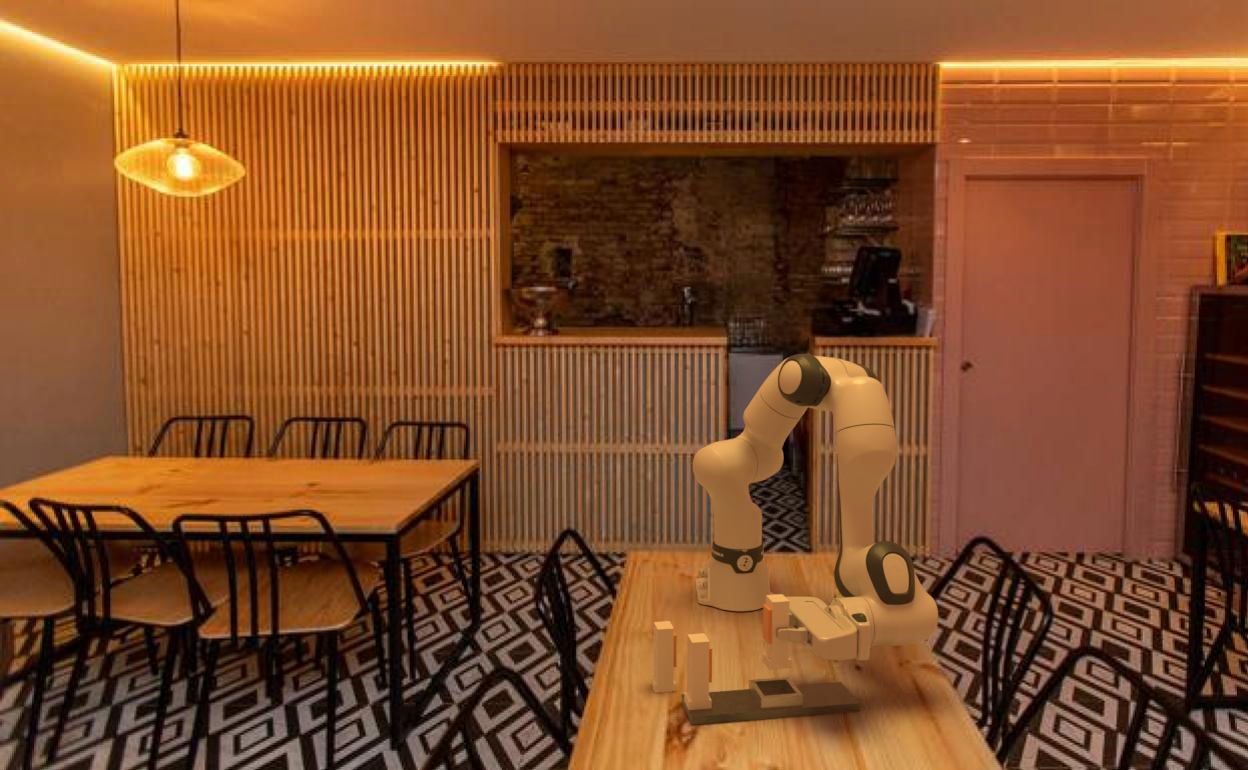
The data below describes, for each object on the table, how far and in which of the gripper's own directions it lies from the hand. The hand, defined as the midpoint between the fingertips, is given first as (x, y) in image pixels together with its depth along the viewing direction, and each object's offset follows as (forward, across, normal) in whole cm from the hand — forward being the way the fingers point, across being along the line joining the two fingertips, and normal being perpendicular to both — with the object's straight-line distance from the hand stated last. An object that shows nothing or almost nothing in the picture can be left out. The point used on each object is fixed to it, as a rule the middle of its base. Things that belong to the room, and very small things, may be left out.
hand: (772, 628), depth 145 cm
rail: (0, 0, +14) cm, 14 cm away
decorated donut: (-36, -42, +15) cm, 57 cm away
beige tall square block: (-1, 0, +7) cm, 7 cm away
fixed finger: (+13, 0, +13) cm, 18 cm away
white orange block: (+17, -10, +14) cm, 25 cm away
